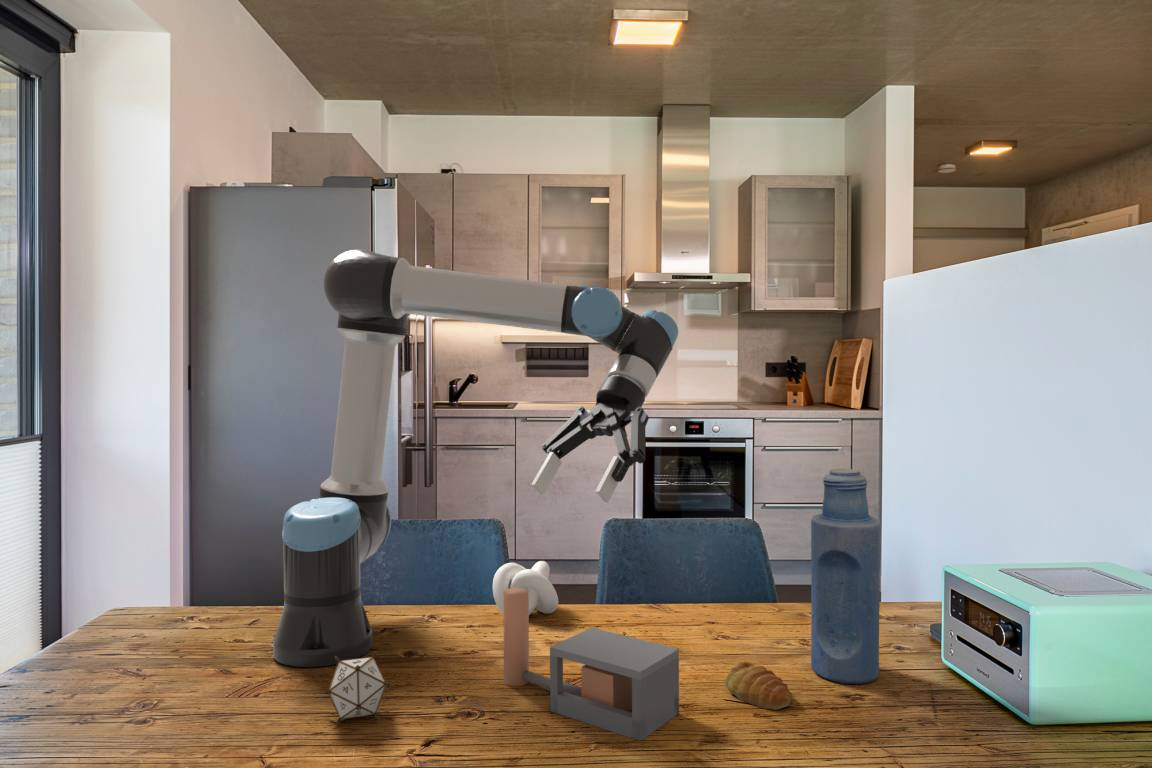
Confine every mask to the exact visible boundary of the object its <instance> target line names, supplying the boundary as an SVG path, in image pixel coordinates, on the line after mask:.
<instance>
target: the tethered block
mask: <svg viewBox="0 0 1152 768" xmlns="http://www.w3.org/2000/svg"><path fill="white" fill-rule="evenodd" d="M503 609H504V614H503V683H504V685H507V686H510V687H521V686H522V687H523V686H525V685H527V684H529V683H531V684H534V685H536V686H540V687H543V688H546V689H549V690H550V676H546V675H543V674H540V673H536V672H533V671H529V670H530V650H529V649H530V648H529V647H530V643H529V641H530V634H529V633H530V631H529V630H530V622H529V621H530V620H529V619H530V618H529V617H530V615H529V593H528V590H527V589H523V588H511V589H507V590H504V592H503ZM580 670H581V685H580V686H579V685H576V684H572V683H570V682H566V681H563V692H567V693H570V694H573V695H576V696H579V697H583V698H586V699H589V700H592V701H595V702H599V703H602V704H605V705H608V706H611V707H615V708H618V709H621V710H624V711H627V712H629V711H630V710H631V711H632V678H631V677H628V676H624V675H621V674H617V673H613V672H610V671H606V670H603V669H599V668H596V667H592V666H589V665H585V664H583V666H581V669H580ZM631 711H630V712H631Z"/></svg>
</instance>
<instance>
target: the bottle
mask: <svg viewBox="0 0 1152 768" xmlns="http://www.w3.org/2000/svg"><path fill="white" fill-rule="evenodd" d="M822 481H823V487H824V488H823V491H824V492H823V501H822V510H821V511H822V512H820V513H818V514H815V515H813V516H812V517H811V519H810V521H811V523H810V528H811V529H810V531H811V533H810V534H811V535H810V538H811V539H810V556H811V557H810V558H811V559H810V562H811V563H810V566H811V567H810V568H811V569H810V570H811V571H810V578H811V582H810V583H811V586H810V587H811V590H810V591H811V592H810V593H811V597H810V598H811V600H810V601H811V603H810V604H811V609H810V610H811V612H810V614H811V615H810V616H811V620H810V621H811V622H810V623H811V633H810V634H811V635H810V640H811V641H810V642H811V644H810V647H811V648H810V658H811V659H810V667H811V668H810V669H812V671H813V673H815V674H816V675H817V676H819V677H821V678H823V679H825V680H828V681H830V682H835V683H839V684H845V685H851V684H853V685H863V684H868V683H871V682H874V681H875V680H877V678H879V675H880V608H881V604H880V603H881V602H880V596H881V595H880V594H881V592H880V591H881V590H880V586H881V585H880V584H881V581H880V580H881V578H880V576H881V521H880V520H879V519H878V518H876V517H874V516H871V515H870V514H869V504H868V503H869V502H868V500H867V499H868V498H867V487H868V481H867V478H866V476H864V475H862V474H861V472H860V470H859V469H854V468H852V469H851V468H836V469H830V470H829V473H828V474H825V475H824V477H823V480H822Z"/></svg>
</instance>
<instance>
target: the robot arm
mask: <svg viewBox="0 0 1152 768" xmlns="http://www.w3.org/2000/svg"><path fill="white" fill-rule="evenodd" d="M323 278H324V279H323V290H324V294H325V297H326V299H327V301H328V303H329V306H331V307H332V308H333V310H335V312H337V313H338V316H337V317H338V318H337V326H336V327H337V331H338V332H339V334H340V335H341V336H342V337H343V339H344V347H343V357H342V366H341V377H340V387H339V395H338V405H337V413H336V414H337V415H336V424H335V433H334V442H333V443H334V444H333V451H332V452H333V453H332V461H331V470H330V471H331V472H330V475H329V477H328V478H327V479H325V480H324V481H323V482H322V483H321V484H320V490H319V498H313V499H309V501H302V502H299V503H297V504H295V505H293V506H291V507H290V508H289V509H288V510H287V511H286V512H285V514H284V516H283V525H282V532H281V538H282V558H283V562H282V563H283V565H282V566H283V592H284V594H283V598H284V599H283V600H284V601H283V602H284V603H283V604H284V605H283V609H282V612H281V616H280V619H279V621H278V625H277V628H276V632H275V635H274V637H273V641H272V654H273V655H272V656H273V660H275V661H276V662H277V663H279V664H283V665H286V666H290V667H296V668H297V667H298V668H317V667H328V666H333V665H337V663H338V662H337V661H336V660H335V656H337V657H339V659H340V660H349V659H357V658H361V657H362V656H364V655H365V654H367V653H368V652H369V651H370V650H371V649H372V647H373V630H372V627H371V624H370V621H369V618H368V616H367V613H366V611H365V606H364V605H363V602H362V598H361V595H362V594H361V564H362V563H364V562H365V561H366V560H368V559H369V558H371V557H372V556H373V555H374V554H376V553H377V552H378V551H380V549H381V548H382V546H384V544H385V542H386V540H387V539H388V537H389V534H390V531H391V527H392V515H391V512H390V508H389V506H388V498H389V496H388V495H389V488H388V486H387V485H386V484H385V483H384V482H383V480H382V472H383V471H382V470H383V462H384V455H385V444H386V435H387V428H388V427H387V426H388V419H389V418H388V417H389V415H388V414H389V408H390V407H389V406H390V400H391V399H390V398H391V397H390V396H391V390H392V389H391V388H392V379H393V371H394V363H395V361H394V360H395V353H396V352H395V351H396V346H397V345H398V344H399V343H400V342H402V340H404V339H405V338H406V333H407V325H408V317H409V316H410V315H414V316H415V315H417V316H424V317H432V318H440V319H448V320H455V321H465V322H473V323H481V324H489V325H490V324H491V325H497V326H498V325H499V326H506V327H514V328H522V329H529V330H538V331H546V332H554V333H555V332H556V333H561V334H569V335H574V336H575V335H576V336H583V337H588V338H590V339H591V340H593V341H595V342H598V343H599V344H601V345H603V346H604V347H605V348H608V349H609V350H611V351H613V352H615V353H617V354H618V356H617V358H616V359H615V361H614V363H613V365H612V366H611V367H610V369H609V371H608V373H607V375H606V378H605V379H604V380H603V382H602V384H601V385H600V387H599V389H598V391H597V392H596V398H595V399H596V401H595V402H596V403H595V405H594V406H593V407H592V408H591V409H586V408H585V407H584V406H583V405H579V406H578V407H577V409H576V410H575V412H574V413H573V414H572V416H571V417H569V418H568V419H567V420H566V421H565V422H564V423H563V424H562V425H561V426H560V427H559V428H558V429H557V430H556V431H555V432H553V434H552V435H551V436H549V437H548V438H547V440H545V441H544V442H543V443H542V444H541V447H540V448H541V449H542V451H543V452H544V453H545V454H546V455H545V457H544V458H543V460H542V462H541V464H540V466H539V469H538V472H537V474H536V475H535V477H534V479H533V481H532V483H531V486H532V487H533V488H534V489H535V491H537V493H539V494H540V495H541V496H544V495H545V494H546V492H547V490H548V488H549V487H550V485H551V483H552V481H553V479H554V478H555V476H556V474H557V472H558V470H559V469H560V467H561V465H562V463H563V462H562V461H561V459H562V458H564V457H565V456H566V455H568V454H569V453H571V452H573V451H574V450H575V449H577V448H578V447H579V446H581V445H582V444H584V443H585V442H587V441H588V440H589V439H590V440H593V439H595V438H597V437H603V436H607V437H614V440H615V444H616V448H617V452H616V453H617V454H618V455H619V456H618V455H614V456H613V457H612V459H611V461H610V462H609V464H608V466H607V467H606V470H605V472H604V474H603V475H602V477H601V480H600V482H599V483H598V485H597V486H596V489H595V493H596V494H597V495H598V496H599V498H600V499H601V500H602V501H603V502H604V503H609V501H610V499H611V498H612V495H614V492H615V490H616V488H617V486H618V484H619V482H622V481H623V480H624V478H625V476H626V474H627V472H628V470H629V469H630V467H631V466H633V465H634V463H638V464H643V463H644V462H645V461H646V426H647V424H648V421H649V418H650V417H649V415H648V414H647V412H646V411H645V410H644V409H643V405H644V403H645V401H646V398H647V397H648V395H649V393H650V391H651V389H652V388H653V386H654V384H655V382H656V380H657V378H658V376H659V375H660V374H661V371H662V369H663V367H664V366H665V364H666V362H667V360H668V358H669V356H670V354H671V352H672V351H673V349H674V348H673V347H674V345H675V343H676V341H677V339H678V336H679V327H678V325H677V323H676V321H675V320H674V319H673V317H671V316H670V315H669V314H667V313H665V311H657V310H655V309H650V310H649V309H648V310H646V311H643V313H642V314H640V315H639V314H638V313H636V312H634V311H631V310H629V309H628V308H626V307H624V305H622V304H621V301H620V299H619V297H618V296H617V295H616V294H615V293H614V292H613V291H612V290H609V289H608V288H606V287H600V286H591V287H589V286H588V285H585V284H581V285H579V286H578V285H577V286H576V285H567V284H562V283H561V284H560V283H554V282H553V283H552V282H547V281H546V282H544V281H537V280H528V279H521V278H513V277H504V276H499V275H498V276H497V275H488V274H482V273H481V274H480V273H473V272H465V271H458V270H457V271H456V270H448V269H441V268H434V267H433V268H432V267H426V266H417V265H416V266H415V265H411V264H410V263H409V262H408V260H407V258H403V257H397V256H390V255H385V254H381V253H376V252H374V251H371V250H368V249H363V248H361V249H357V248H356V249H351V250H347V251H344V252H343V253H340V254H339V255H337V256H336V257H334V259H333V260H331V262H330V263H329V265H328V266H327V269H326V270H325V273H324V277H323ZM630 423H631V424H630ZM588 425H589V427H590V428H589V427H588ZM628 425H630V444H629V440H628V433H627V431H626V426H628Z"/></svg>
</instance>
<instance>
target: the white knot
mask: <svg viewBox="0 0 1152 768" xmlns="http://www.w3.org/2000/svg"><path fill="white" fill-rule="evenodd" d="M549 575H550V566H549V564H548V563H547V562H546V561H545V560H539V561H537V562H536V563H535V564H533V566H532V567H531V568H525V567H524V566H523V565H521V564H519V563H517V562H508V563H504V564H503V565H502V566H500V567H499V568H498V569H497V570H496V572H495V574H494V576H493V579H492V596H493V599H494V602H495V604H496V606H497V608H498V610H499V611H500V612H501V613H502V614H503V615H504V609H503V592H504V590H507V589H511V588H523V589H527V590H528V593H529V616H530V615H531V614H532V613H533V612H534V611H535V609H536V610H537V611H539V612H541V613H543V614H546V615H547V614H553V613H554V612H555V611H556V610H557V609H558V605H559V598H558V593H557V591H556V589H555V587H554V585H553V584H552V583H551V582H550V580H549Z"/></svg>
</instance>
